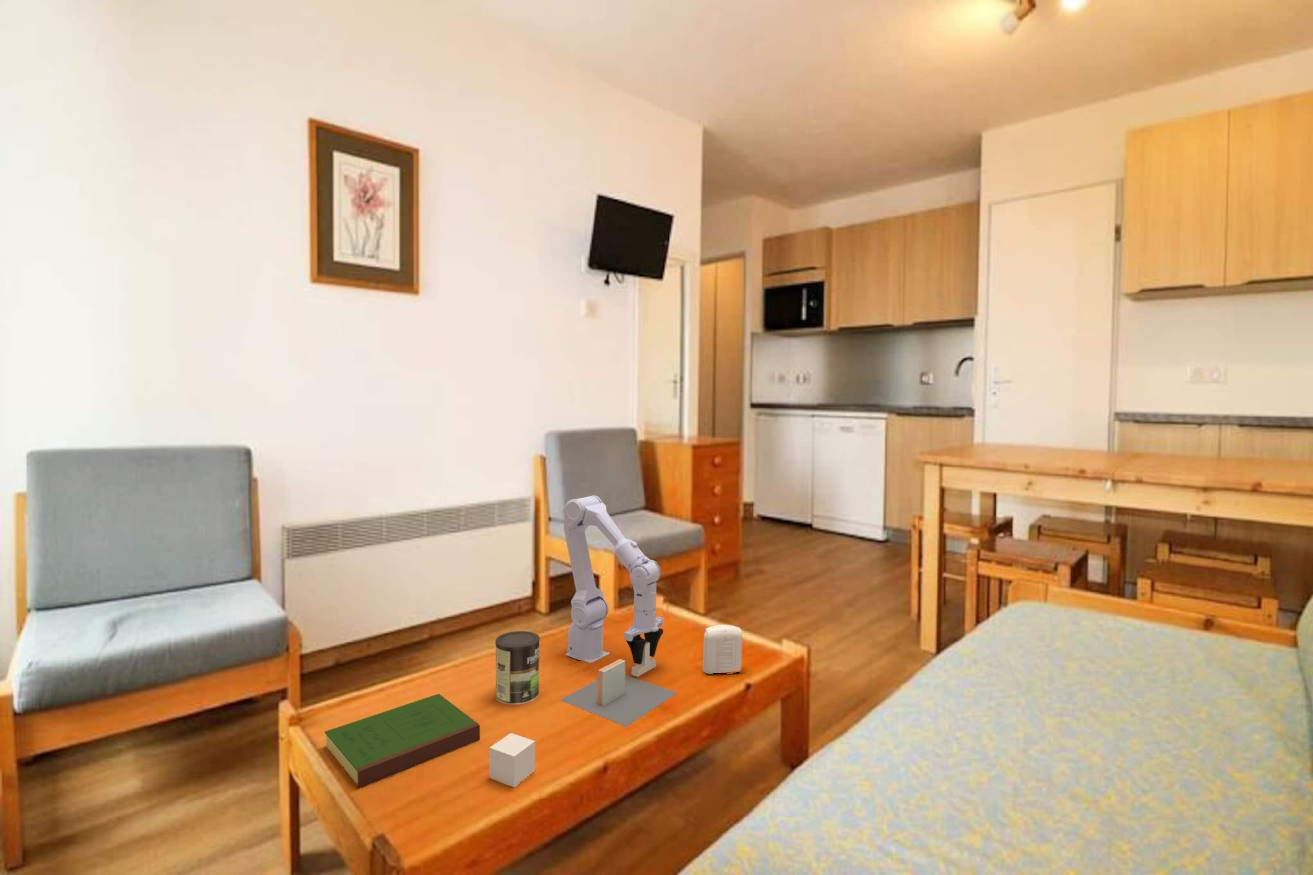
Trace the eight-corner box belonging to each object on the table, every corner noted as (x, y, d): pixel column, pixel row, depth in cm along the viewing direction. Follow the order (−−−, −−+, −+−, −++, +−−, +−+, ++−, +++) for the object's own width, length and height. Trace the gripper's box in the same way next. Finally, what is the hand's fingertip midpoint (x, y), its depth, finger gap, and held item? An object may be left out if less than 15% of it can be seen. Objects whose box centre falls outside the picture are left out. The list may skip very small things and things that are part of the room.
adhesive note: (510, 762, 125) (510, 732, 125) (535, 771, 122) (535, 740, 122) (489, 778, 120) (489, 747, 119) (514, 787, 117) (514, 756, 117)
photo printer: (738, 667, 170) (740, 622, 170) (743, 674, 166) (744, 627, 165) (701, 668, 169) (702, 623, 168) (704, 675, 165) (705, 629, 164)
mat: (559, 701, 150) (559, 699, 150) (613, 672, 166) (613, 670, 166) (626, 728, 138) (626, 726, 138) (677, 694, 154) (677, 692, 154)
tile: (597, 703, 148) (598, 670, 147) (619, 691, 154) (619, 658, 154) (603, 705, 147) (603, 672, 146) (624, 693, 154) (625, 660, 153)
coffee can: (545, 688, 156) (546, 632, 155) (529, 708, 146) (529, 648, 145) (506, 684, 158) (506, 628, 157) (487, 703, 148) (487, 644, 147)
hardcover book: (358, 791, 116) (358, 771, 116) (325, 749, 129) (324, 731, 129) (483, 740, 133) (483, 723, 133) (442, 708, 147) (441, 692, 146)
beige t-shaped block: (631, 676, 164) (631, 646, 163) (649, 666, 170) (650, 637, 170) (637, 679, 163) (638, 648, 162) (655, 668, 169) (656, 638, 169)
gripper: (640, 619, 157) (639, 673, 158) (673, 604, 169) (672, 654, 170) (618, 613, 161) (617, 665, 162) (651, 599, 173) (651, 647, 174)
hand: (644, 659), depth 166 cm, fingers open, 5 cm apart
